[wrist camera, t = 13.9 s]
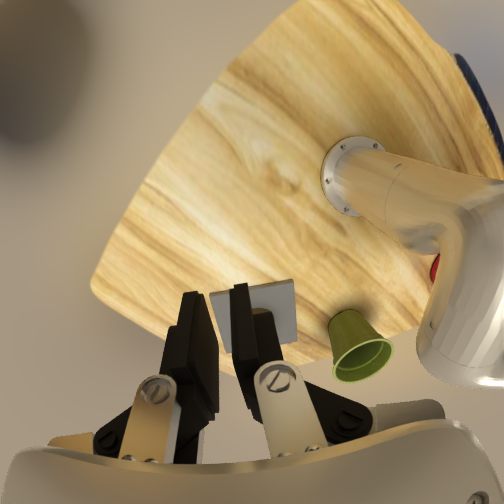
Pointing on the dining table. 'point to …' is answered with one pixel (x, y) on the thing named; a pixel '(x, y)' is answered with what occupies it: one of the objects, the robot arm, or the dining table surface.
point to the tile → (262, 296)
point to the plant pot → (357, 348)
